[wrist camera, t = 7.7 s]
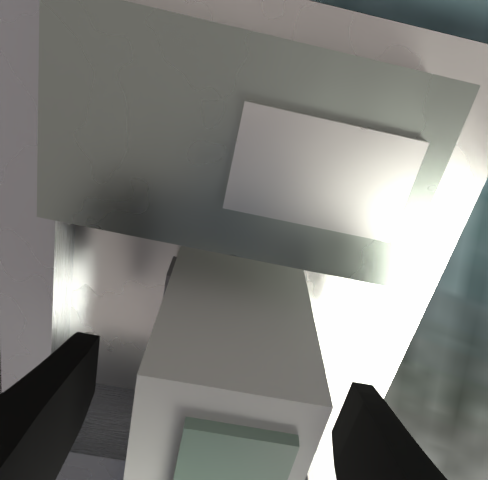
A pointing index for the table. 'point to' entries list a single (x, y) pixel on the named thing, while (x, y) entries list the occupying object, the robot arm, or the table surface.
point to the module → (229, 375)
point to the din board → (226, 178)
